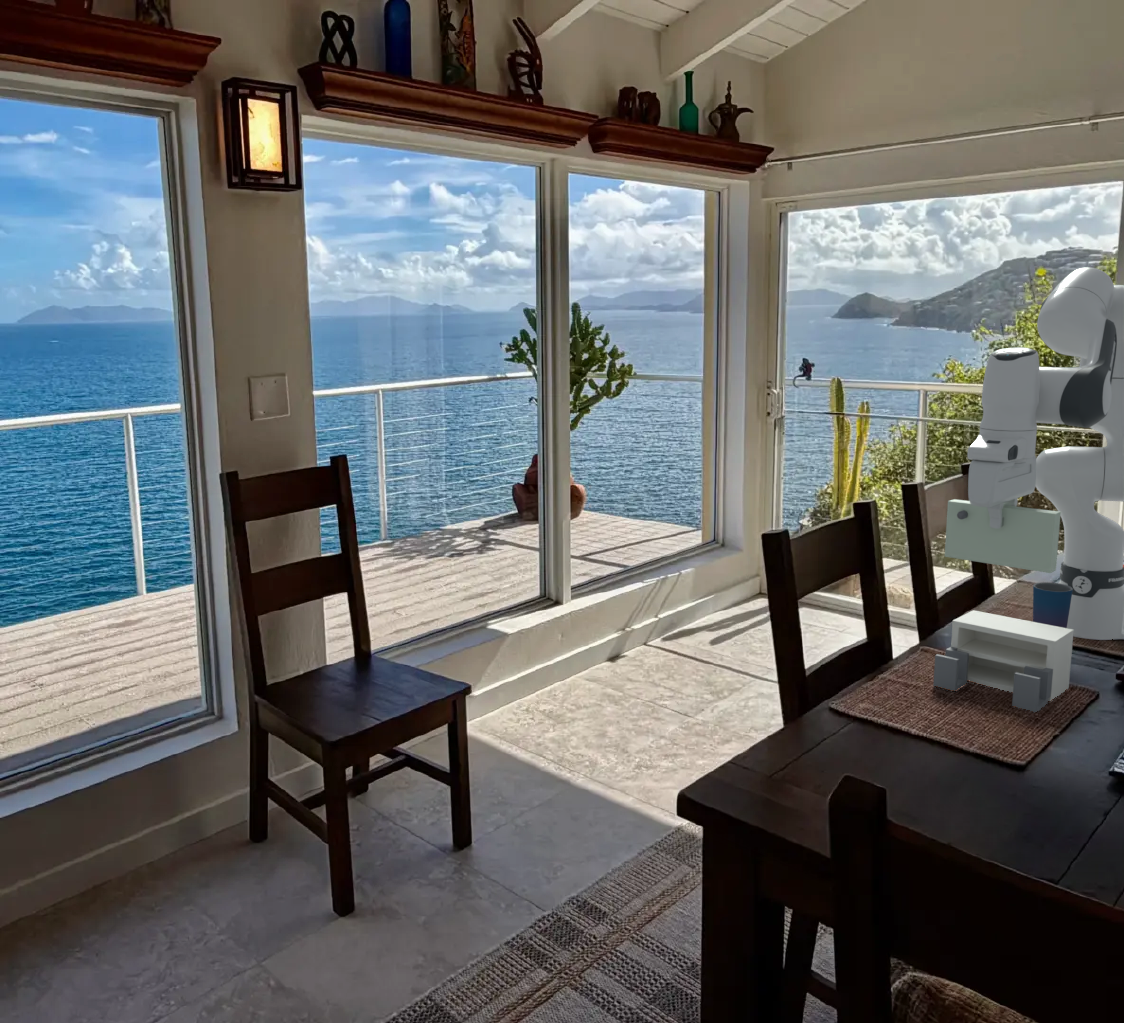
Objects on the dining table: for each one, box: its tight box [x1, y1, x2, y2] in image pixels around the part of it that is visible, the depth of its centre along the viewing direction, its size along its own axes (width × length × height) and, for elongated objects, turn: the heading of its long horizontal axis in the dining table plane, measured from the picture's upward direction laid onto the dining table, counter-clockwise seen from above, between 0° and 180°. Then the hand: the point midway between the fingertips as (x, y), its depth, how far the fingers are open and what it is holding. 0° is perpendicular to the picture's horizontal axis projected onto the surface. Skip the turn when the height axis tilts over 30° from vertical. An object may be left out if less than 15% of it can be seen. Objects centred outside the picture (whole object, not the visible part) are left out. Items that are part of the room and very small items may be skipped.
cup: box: [1032, 581, 1073, 628], centre depth 195 cm, size 7×7×15 cm
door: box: [944, 498, 1061, 574], centre depth 174 cm, size 4×18×10 cm, turn 45°
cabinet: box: [932, 609, 1074, 713], centre depth 182 cm, size 16×18×11 cm
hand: (1001, 525), depth 174 cm, fingers closed on door, 2 cm apart
